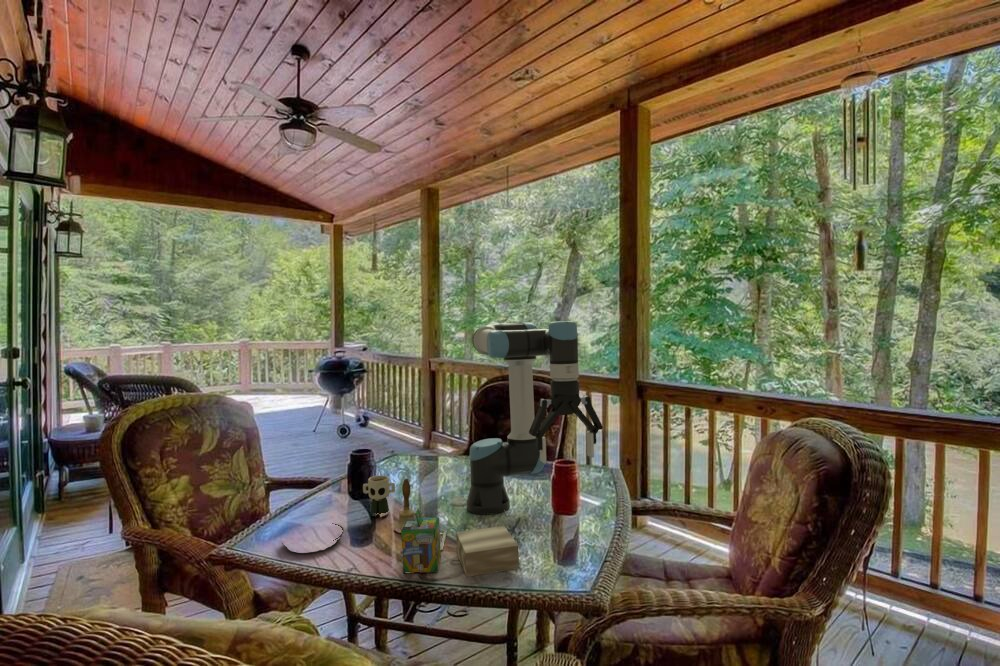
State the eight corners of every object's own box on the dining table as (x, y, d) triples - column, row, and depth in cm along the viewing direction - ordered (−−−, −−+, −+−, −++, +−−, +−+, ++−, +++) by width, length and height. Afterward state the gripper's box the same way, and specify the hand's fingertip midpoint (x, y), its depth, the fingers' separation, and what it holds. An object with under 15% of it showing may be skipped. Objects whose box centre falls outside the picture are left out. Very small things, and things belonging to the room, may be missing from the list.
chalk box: (437, 573, 132) (435, 516, 132) (402, 574, 132) (400, 517, 132) (442, 557, 141) (440, 504, 141) (409, 558, 141) (407, 505, 141)
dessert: (446, 536, 157) (445, 520, 157) (442, 553, 145) (442, 536, 145) (407, 537, 157) (406, 522, 156) (400, 555, 145) (400, 538, 144)
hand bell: (410, 522, 168) (408, 474, 168) (425, 528, 162) (423, 478, 162) (388, 529, 162) (386, 479, 162) (403, 536, 156) (401, 484, 156)
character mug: (361, 520, 171) (359, 481, 171) (366, 512, 178) (365, 475, 178) (393, 519, 171) (392, 480, 171) (397, 511, 178) (396, 474, 178)
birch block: (456, 553, 143) (456, 532, 143) (504, 546, 146) (504, 525, 146) (466, 576, 129) (465, 553, 129) (519, 568, 133) (518, 545, 133)
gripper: (524, 383, 128) (527, 467, 128) (613, 377, 134) (616, 457, 135) (515, 380, 135) (518, 460, 135) (600, 375, 142) (603, 451, 142)
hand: (567, 459), depth 135 cm, fingers open, 13 cm apart
